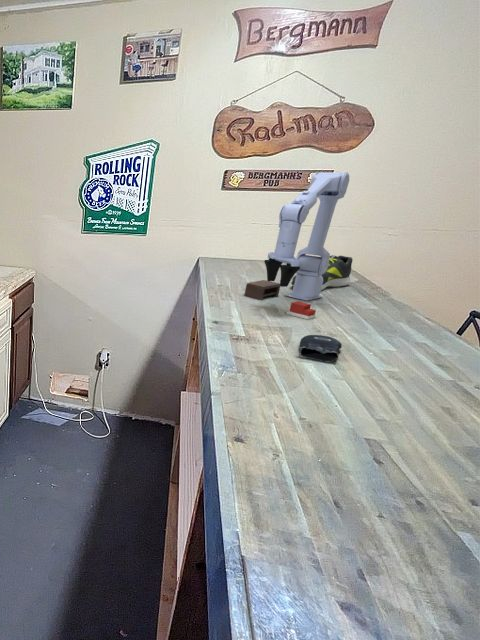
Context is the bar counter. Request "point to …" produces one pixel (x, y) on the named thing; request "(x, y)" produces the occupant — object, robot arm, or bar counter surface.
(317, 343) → the electronic device
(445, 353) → the bar counter surface
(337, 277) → the running shoe
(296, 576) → the bar counter surface
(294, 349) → the bar counter surface
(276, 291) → the box
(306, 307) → the shoe
